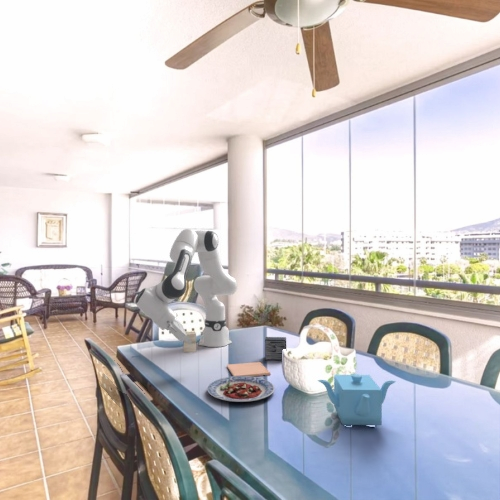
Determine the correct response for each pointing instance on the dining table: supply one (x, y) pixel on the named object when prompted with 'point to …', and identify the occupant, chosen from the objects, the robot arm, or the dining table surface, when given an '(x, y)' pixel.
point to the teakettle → (357, 399)
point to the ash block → (191, 347)
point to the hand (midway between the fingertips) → (190, 340)
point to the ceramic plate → (241, 388)
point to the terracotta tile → (248, 369)
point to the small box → (274, 348)
